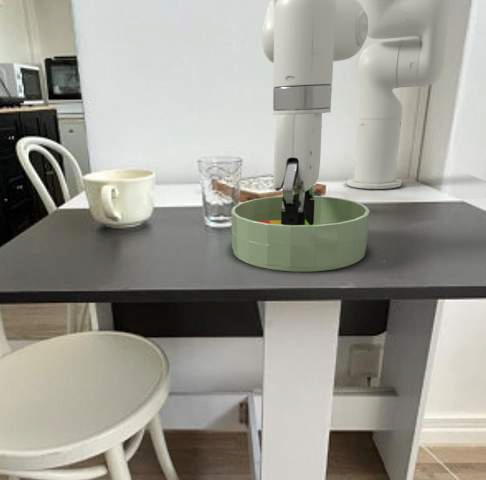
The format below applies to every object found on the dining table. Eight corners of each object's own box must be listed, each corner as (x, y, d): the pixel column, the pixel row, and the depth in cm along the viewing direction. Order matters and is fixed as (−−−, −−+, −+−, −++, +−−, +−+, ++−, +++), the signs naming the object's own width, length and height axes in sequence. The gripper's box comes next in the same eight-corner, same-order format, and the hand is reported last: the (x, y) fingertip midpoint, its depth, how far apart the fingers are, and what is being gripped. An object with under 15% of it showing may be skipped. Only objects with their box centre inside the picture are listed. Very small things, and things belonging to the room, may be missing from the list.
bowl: (236, 231, 74) (236, 196, 72) (351, 230, 72) (354, 194, 70) (227, 271, 57) (226, 226, 55) (379, 272, 54) (384, 225, 52)
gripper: (287, 102, 67) (285, 216, 73) (256, 104, 52) (256, 248, 58) (338, 99, 64) (331, 218, 71) (320, 101, 49) (313, 252, 56)
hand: (297, 230), depth 64 cm, fingers closed on popsicle, 6 cm apart
